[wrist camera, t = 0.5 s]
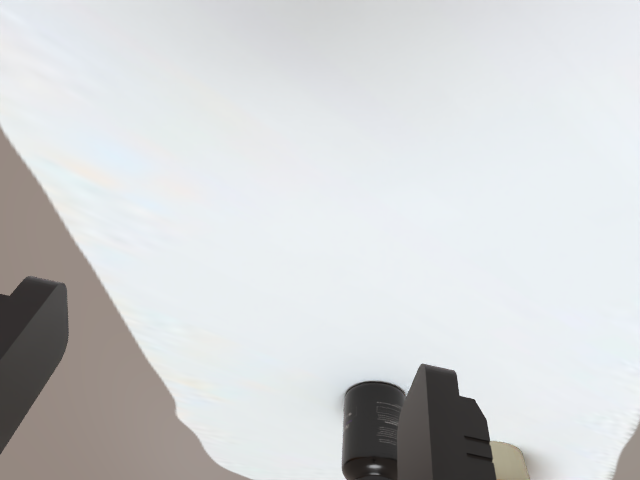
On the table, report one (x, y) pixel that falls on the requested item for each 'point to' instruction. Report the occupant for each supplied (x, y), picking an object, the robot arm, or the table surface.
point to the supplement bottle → (371, 432)
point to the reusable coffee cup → (508, 462)
